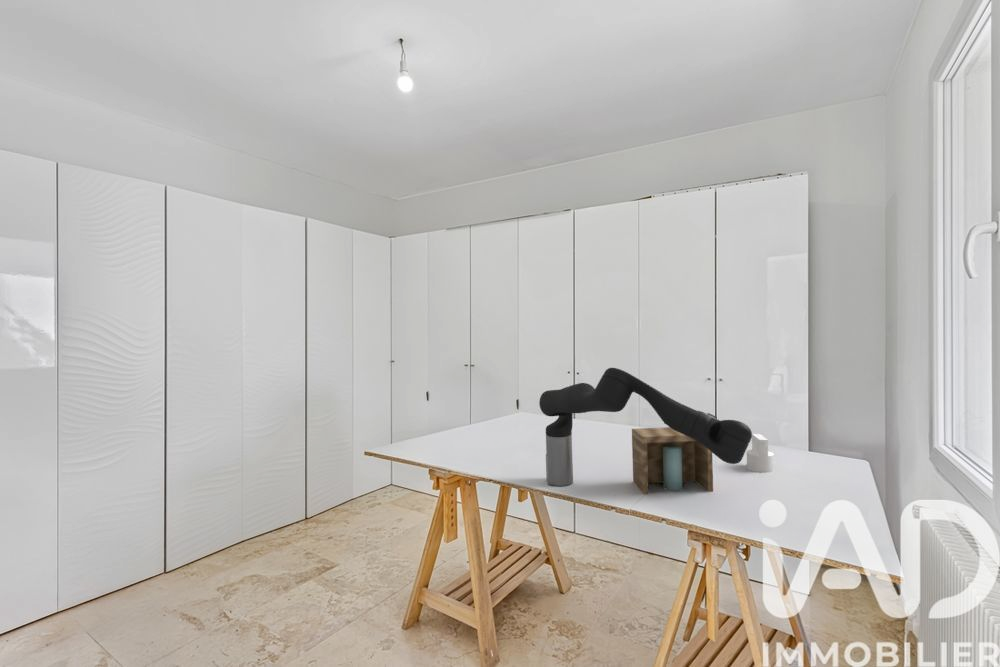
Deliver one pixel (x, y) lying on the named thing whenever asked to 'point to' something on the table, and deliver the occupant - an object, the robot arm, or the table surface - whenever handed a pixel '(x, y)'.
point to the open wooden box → (651, 457)
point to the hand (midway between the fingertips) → (680, 415)
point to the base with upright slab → (760, 455)
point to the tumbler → (672, 467)
